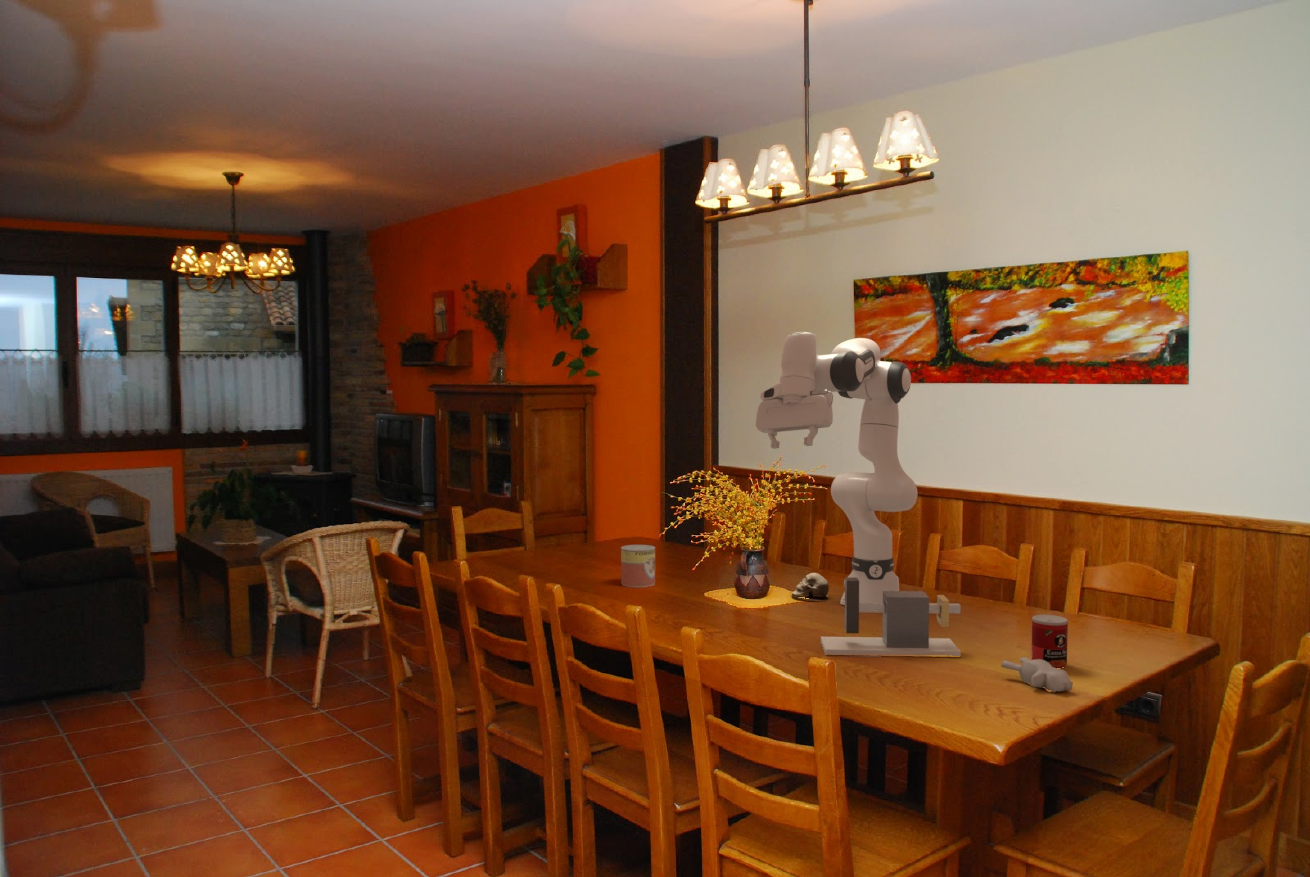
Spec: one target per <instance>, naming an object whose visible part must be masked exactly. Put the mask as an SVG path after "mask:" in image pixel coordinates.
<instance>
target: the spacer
mask: <svg viewBox="0 0 1310 877" xmlns="http://www.w3.org/2000/svg"><path fill="white" fill-rule="evenodd" d="M936 603H939V604H940V605H941V613H936V621H937V623H938V624H939V625H940V626H941V627H942V628H949V627H950V613H949V603H950V600H949V599H948V598H947V597H946V596H945V594H937V595H936Z"/></svg>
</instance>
